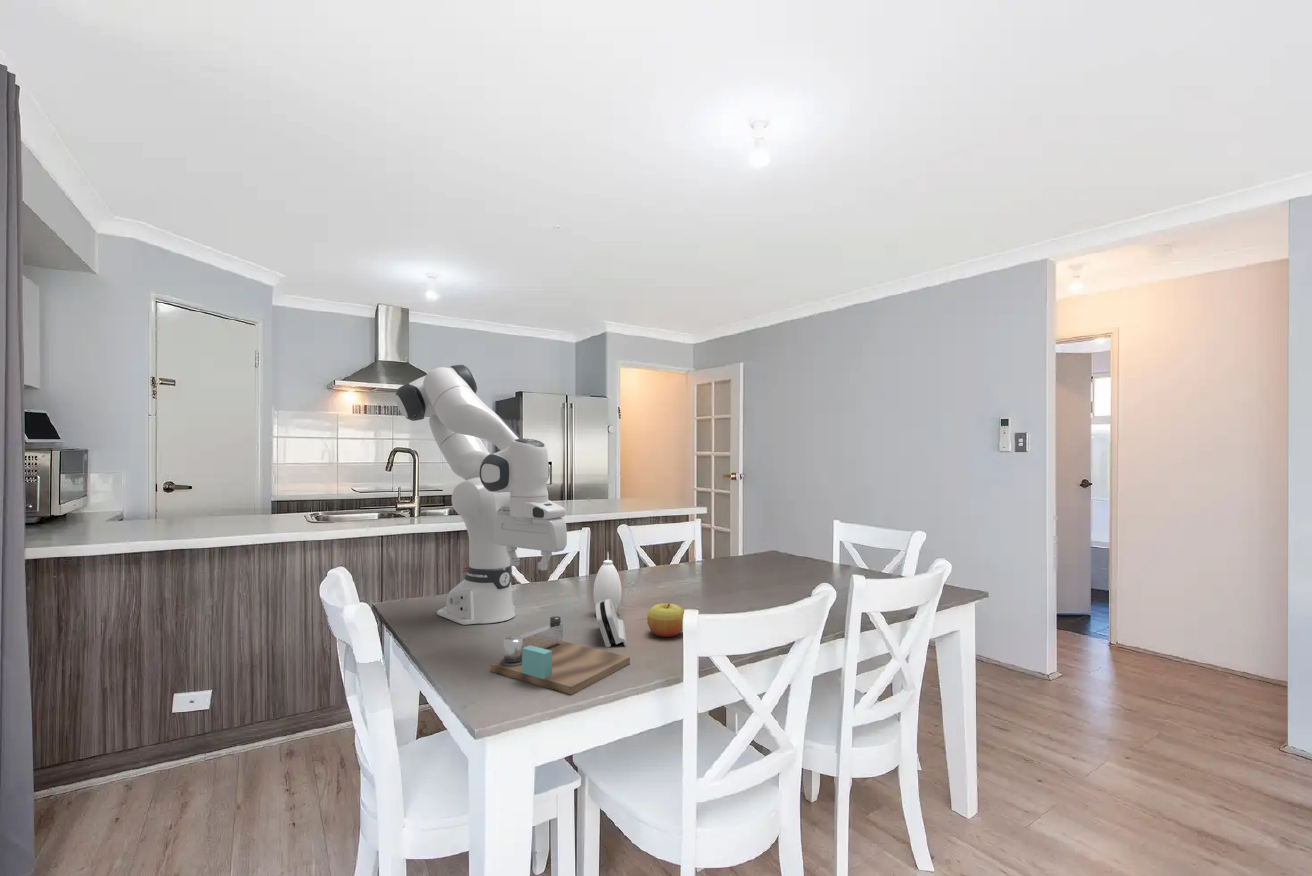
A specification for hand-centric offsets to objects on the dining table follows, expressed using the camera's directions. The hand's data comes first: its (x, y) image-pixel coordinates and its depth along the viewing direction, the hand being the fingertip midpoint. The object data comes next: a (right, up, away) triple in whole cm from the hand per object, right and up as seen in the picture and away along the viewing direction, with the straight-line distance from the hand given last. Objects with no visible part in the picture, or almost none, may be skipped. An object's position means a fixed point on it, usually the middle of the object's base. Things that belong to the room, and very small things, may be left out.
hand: (528, 567), depth 141 cm
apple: (+32, -20, +14) cm, 41 cm away
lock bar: (+3, -17, -6) cm, 18 cm away
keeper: (+6, -18, -18) cm, 26 cm away
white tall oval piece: (+16, -20, +31) cm, 40 cm away
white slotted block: (+18, -20, +12) cm, 30 cm away
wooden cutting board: (+9, -19, -10) cm, 24 cm away
